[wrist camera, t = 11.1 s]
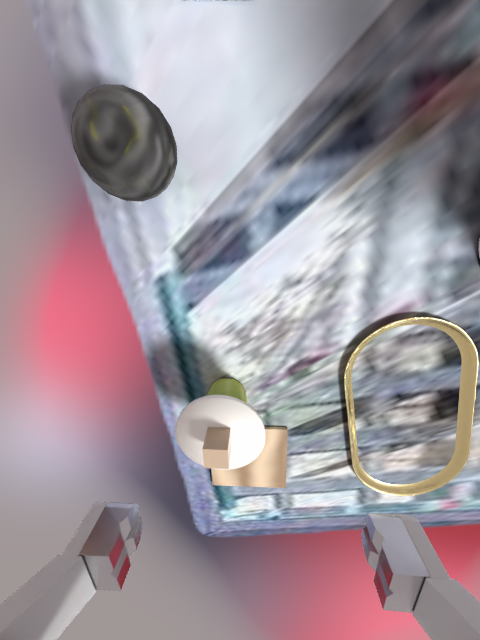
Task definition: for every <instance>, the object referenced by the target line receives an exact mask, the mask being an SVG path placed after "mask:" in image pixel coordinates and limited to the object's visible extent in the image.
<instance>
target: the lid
mask: <svg viewBox="0 0 480 640" xmlns="http://www.w3.org/2000/svg"><path fill="white" fill-rule="evenodd" d="M175 436H176V440H177V442H178V445H179V446H180V448H181V449H182V451H183V452H184V453H185V454H186V455H187V456H188V457H189V458H190V459H192V460H193V461H195V462H196V463H198V464H200V465H203V466H204V468H212V469H219V470H230V469H236V468H240V467H243V466H245V465H247V464H249V463H251V462H252V461H254V460H255V459H256V458H257V457H258V456H259V455H260V453H261V452H262V450H263V448H264V444H265V427H264V423H263V421H262V419H261V417H260V415H259V414H258V413H257V411H256V410H255V409H254V408H253V407H251V406H250V405H249V404H247V403H246V402H244V401H242V400H240V399H237V398H235V397H231V396H226V395H208V396H204V397H200V398H198V399H195V400H194V401H192V402H190V403H189V404H188V405H187V406H186V407H185V408H184V409H183V410H182V412H181V413H180V415H179V417H178V420H177V422H176V426H175Z"/></svg>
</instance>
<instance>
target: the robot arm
mask: <svg viewBox="0 0 480 640" xmlns="http://www.w3.org/2000/svg"><path fill="white" fill-rule="evenodd" d="M479 257H480V240H479ZM138 511H139V507H138V504H137V503H118V502H100V501H99V502H98V501H97V502H95V503H94V504H93V505H92V506H91V508H90V510H89V511H88V513H87V515H86V516H85V518H84V520H83V521H82V523H81V525H80V526H79V528H78V529H77V531H76V533H75V535H74V536H73V538H72V539H71V541H70V543H69V544H68V546H67V548H66V549H65V551H64V553H63V554H62V555H57V556H56V557H55V558H54V559H53V560H51V561H50V562H49V563H48V564H47V565H46V566H44V567H43V568H42V569H41V570H40V571H39V572H37V573H36V574H35V575H34V576H33V577H32V578H30V579H29V580H28V581H27V582H26V583H25V584H24V585H22V586H21V587H20V588H19V589H18V590H16V591H15V592H14V593H13V594H12V595H11V596H10V597H8V598H7V599H6V600H5V601H4V602H3V603H1V604H0V640H56V639H57V638H58V637H59V636H60V635H61V633H62V632H63V631H64V630H65V629H66V627H67V626H68V625H69V624H70V622H71V621H72V620H73V619H74V617H76V615H77V614H78V613H79V612H80V610H81V609H82V608H83V607H84V606H85V605H86V603H87V602H88V601H89V600H90V599H91V597H92V596H93V595H94V594H95V592H96V590H114V591H120V590H121V589H122V587H123V584H124V581H125V579H126V576H127V574H128V571H129V568H130V566H131V564H130V558H129V557H130V556H131V555H132V554H133V553H134V552H135V551H136V550H137V547H138V544H139V542H140V539H141V534H142V524H143V522H142V519H141V517H140V516H139V515H138ZM364 520H365V523H366V526H365V527H364V528H363V529H362V543H363V548H364V553H365V556H366V559H367V562H368V564H369V565H370V566H371V567H372V568H373V570H374V571H375V576H374V584H375V586H376V590H377V593H378V596H379V598H380V602H381V605H382V608H383V610H391V611H401V612H410V613H413V616H414V617H415V618H416V620H417V621H418V622H419V624H420V625H421V626H422V628H423V629H424V630H425V632H426V633H427V634H428V636H429V637H430V638H431V639H432V640H480V602H479V601H478V600H477V599H476V598H475V597H474V596H473V595H472V594H471V593H469V592H468V591H467V590H466V589H465V588H464V587H463V586H462V585H461V584H460V583H459V582H458V581H457V580H456V579H450V577H449V576H448V574H447V572H446V570H445V568H444V566H443V564H442V563H441V561H440V559H439V557H438V555H437V554H436V552H435V550H434V548H433V546H432V545H431V543H430V541H429V539H428V537H427V536H426V534H425V532H424V530H423V528H422V526H421V525H420V523H419V521H418V519H417V518H416V517H415V516H413V515H400V514H374V513H367V514H366V515H365V519H364Z"/></svg>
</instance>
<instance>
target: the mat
mask: <svg viewBox="0 0 480 640" xmlns="http://www.w3.org/2000/svg"><path fill="white" fill-rule="evenodd" d="M286 461H287V427H265V444H264V448H263V450H262V452H261V453H260V455H259V456H258V457H257V458H256V459H255V460H254V461H252V462H251V463H249V464H247V465H245V466H243V467H240V468H236V469H230V470H219V469H212V468H211V472H212V481H213V485H224V486H251V487H278V488H286Z"/></svg>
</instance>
